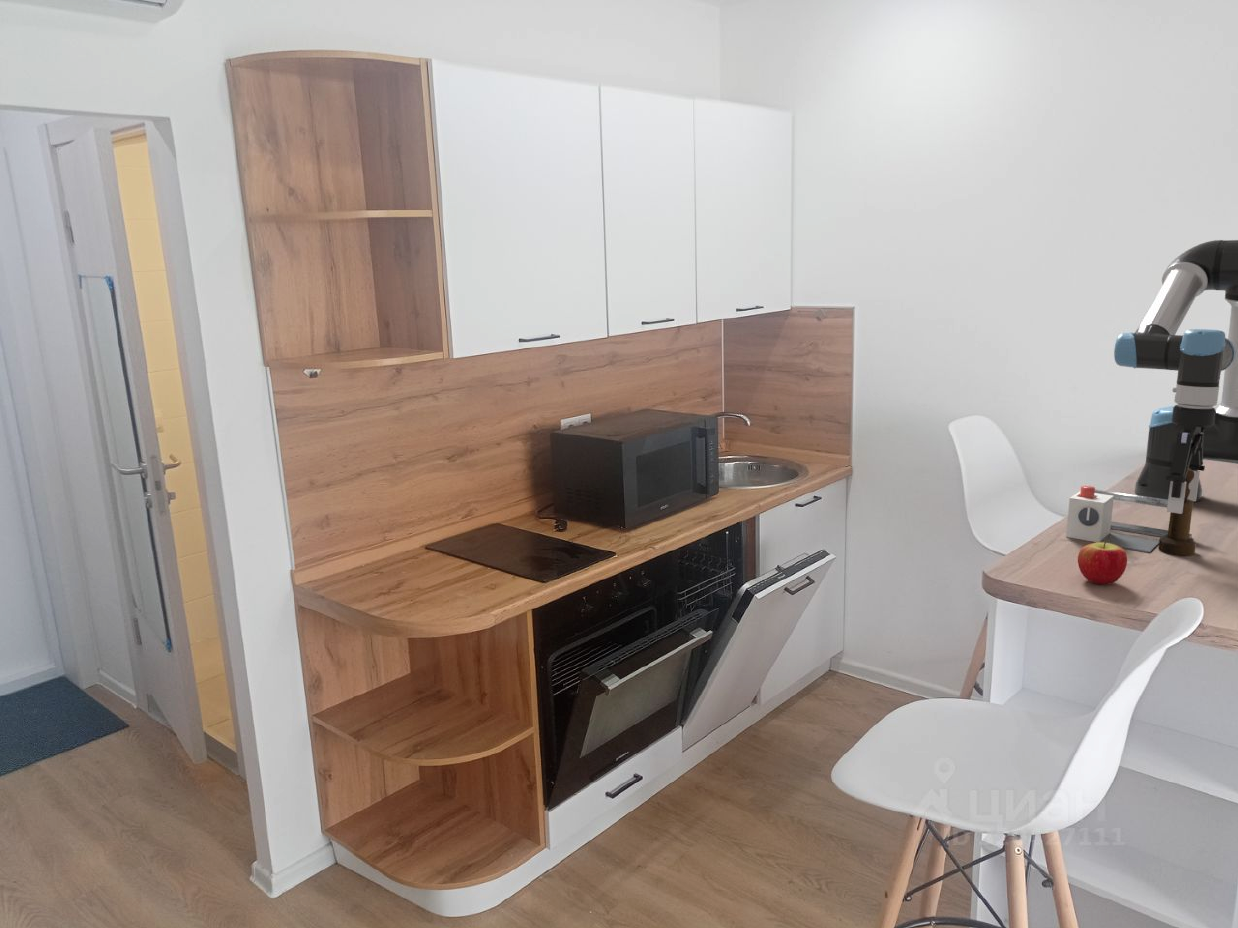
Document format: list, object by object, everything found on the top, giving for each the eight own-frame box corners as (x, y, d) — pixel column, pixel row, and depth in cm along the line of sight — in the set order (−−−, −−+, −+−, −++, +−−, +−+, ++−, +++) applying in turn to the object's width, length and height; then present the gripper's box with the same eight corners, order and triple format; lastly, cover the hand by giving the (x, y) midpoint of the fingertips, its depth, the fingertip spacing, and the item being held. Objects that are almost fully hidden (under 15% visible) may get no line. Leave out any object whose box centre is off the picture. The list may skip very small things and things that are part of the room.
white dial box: (1076, 528, 218) (1080, 490, 216) (1109, 534, 214) (1113, 495, 212) (1064, 537, 211) (1068, 498, 210) (1098, 543, 207) (1102, 503, 205)
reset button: (1081, 504, 214) (1083, 485, 213) (1094, 506, 212) (1096, 487, 211) (1077, 507, 212) (1079, 487, 211) (1090, 509, 210) (1092, 489, 209)
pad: (1110, 533, 214) (1111, 532, 214) (1160, 541, 208) (1160, 540, 208) (1098, 543, 207) (1098, 542, 207) (1149, 552, 201) (1149, 551, 200)
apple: (1088, 590, 179) (1094, 539, 177) (1067, 575, 187) (1073, 526, 185) (1132, 589, 179) (1138, 539, 177) (1109, 574, 187) (1115, 526, 185)
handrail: (1089, 520, 224) (1093, 487, 222) (1191, 537, 211) (1196, 501, 209) (1085, 524, 222) (1089, 490, 220) (1188, 541, 208) (1192, 505, 206)
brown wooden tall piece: (1190, 548, 204) (1201, 466, 200) (1197, 557, 198) (1208, 472, 194) (1155, 545, 206) (1165, 464, 202) (1161, 554, 200) (1171, 470, 196)
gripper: (1186, 397, 206) (1174, 492, 211) (1160, 410, 188) (1147, 514, 192) (1227, 400, 202) (1213, 498, 206) (1203, 414, 183) (1189, 521, 188)
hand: (1181, 506), depth 199 cm, fingers open, 13 cm apart
